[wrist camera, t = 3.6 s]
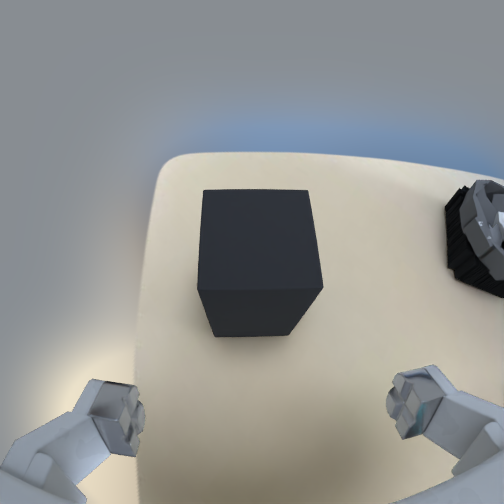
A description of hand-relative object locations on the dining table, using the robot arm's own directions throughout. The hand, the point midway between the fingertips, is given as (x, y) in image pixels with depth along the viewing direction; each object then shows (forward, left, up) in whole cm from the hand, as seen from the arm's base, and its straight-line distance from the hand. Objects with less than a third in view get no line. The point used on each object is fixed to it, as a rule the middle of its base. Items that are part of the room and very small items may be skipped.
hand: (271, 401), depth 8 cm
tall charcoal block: (-3, +6, -11) cm, 12 cm away
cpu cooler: (+16, +20, -11) cm, 28 cm away
